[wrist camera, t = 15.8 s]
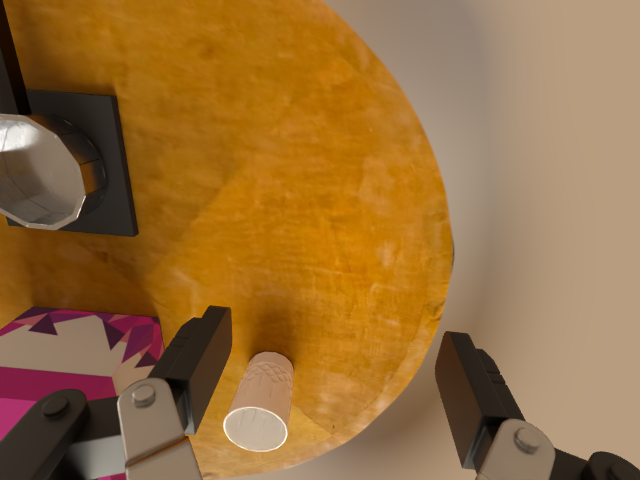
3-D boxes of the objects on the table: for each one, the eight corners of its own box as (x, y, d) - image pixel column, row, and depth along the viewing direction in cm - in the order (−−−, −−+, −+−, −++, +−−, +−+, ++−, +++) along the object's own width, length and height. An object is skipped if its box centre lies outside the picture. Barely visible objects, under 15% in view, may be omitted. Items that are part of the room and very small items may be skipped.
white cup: (307, 361, 50) (298, 422, 41) (284, 395, 53) (271, 459, 44) (257, 339, 49) (236, 397, 40) (237, 375, 52) (214, 437, 43)
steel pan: (116, 220, 42) (94, 234, 38) (20, 212, 42) (-11, 224, 39) (76, 3, 33) (41, -7, 29) (-46, -5, 33) (-95, -16, 30)
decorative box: (30, 304, 49) (-91, 389, 36) (160, 315, 49) (87, 406, 35) (64, 400, 57) (-25, 500, 44) (177, 411, 56) (122, 516, 43)
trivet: (-28, 85, 38) (-38, 85, 37) (116, 96, 37) (110, 96, 36) (15, 222, 44) (8, 225, 43) (138, 233, 44) (134, 237, 43)
